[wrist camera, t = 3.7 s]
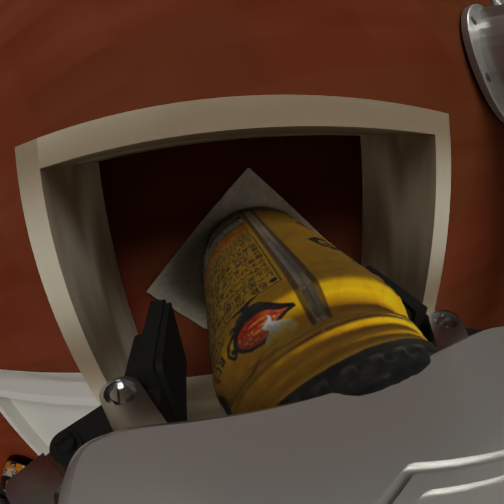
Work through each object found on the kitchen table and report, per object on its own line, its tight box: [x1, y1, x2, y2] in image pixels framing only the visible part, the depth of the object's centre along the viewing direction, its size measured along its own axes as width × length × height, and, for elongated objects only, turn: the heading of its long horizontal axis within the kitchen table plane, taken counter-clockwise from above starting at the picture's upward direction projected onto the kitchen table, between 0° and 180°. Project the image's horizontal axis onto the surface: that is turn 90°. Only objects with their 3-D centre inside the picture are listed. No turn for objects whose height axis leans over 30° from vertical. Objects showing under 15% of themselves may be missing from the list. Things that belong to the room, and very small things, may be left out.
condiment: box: [147, 167, 440, 415], centre depth 10 cm, size 7×8×12 cm
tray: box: [0, 369, 100, 455], centre depth 17 cm, size 18×13×2 cm
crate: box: [15, 95, 451, 421], centre depth 13 cm, size 16×16×6 cm
